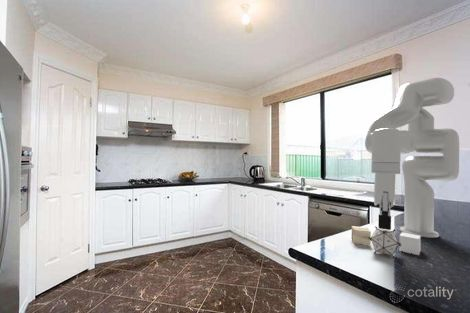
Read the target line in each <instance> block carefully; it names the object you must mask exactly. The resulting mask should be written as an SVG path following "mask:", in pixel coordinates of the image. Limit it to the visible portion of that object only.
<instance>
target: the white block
mask: <svg viewBox="0 0 470 313" xmlns="http://www.w3.org/2000/svg"><path fill="white" fill-rule="evenodd" d="M421 238H422V237H421V236H419V235H414V234H408V233H404V232H402V231H401V233H400V234H399V241H398V243H401V245H402V246H398V248H399V252H402V251H403V253H408V254H411V253H412V255H416V256H420V254H421V246H422V243H421Z"/></svg>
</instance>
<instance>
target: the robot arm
mask: <svg viewBox="0 0 470 313" xmlns="http://www.w3.org/2000/svg"><path fill="white" fill-rule="evenodd" d="M454 95H455V88H454V86H453V83H452V82H451V81H450V80H447V79H446V78H443V77H431V78H426V79H421V80H416V81H412V82H407V83H405V84H403V85H401V86H400V87H399V89H398V90H397V92H396V95H395V98H394V100H393V103H392V105H391V108H390V110H388V111H387V112H384V113H383V114H382V115H380V117H378V118H377V119H375V120H374V121H373V122H372V123H371V125H370V127H369V128H368V131H367V134H366V137H365V141H364V147H365V149H366V151H367V152H368V153H369V154H370V153H371V169H370V170H371V172H370V174H371V173H372V174H374V185H373V186H374V189H373V191H374V194H373V199H374V200H373V204H374V206H375V207H377V205H379V207H378V208H379V214H378V223H377V224H378V227H377V228H378V229H383V230H389V231H392V215H391V208H392V207H394V202H395V196H396V195H395V194H396V175H401V169H402V174H403V180H404V181H403V182H404V203H403V204H404V207H403V208H404V215H403V216H404V218H403V219H404V220H403V224H404V225H403V226H399V231H400V232H401V233H402V232H403V233H408V234H414V235H419V236H421V238H429V239H431V238H432V239H433V238H434V239H435V238H439V237H440V234H439V232H437V231H435V230H434V229H435V228H434V227H435V226H434V225H435V223H434V221H435V218H434V216H435V214H434V213H435V191H434V189H433V187H432V186H431V185H430V184H429V182H428V181H443V182H444V181H445V182H448V181H449V182H450V181H455V180H457V178H458V177H459V175H460V174H459V173H460V137H459V133H458V132H457V130H455V129H453V128H435V117H434V116H433V115H432V113H431V112H430V111H428V110H427V109H425V108H424V107H432V106H440V105H447V104H449V103H450V102H452V101H453V99H454ZM406 125H408V126H407V130H405V129H404V130H400V129H398V128H401V127H404V126H406ZM410 153H414V154H415V153H416V154H417V153H418V154H442V155H413V156H407V157H406V158H404V159H403V161H402V163H401V158H402V156H401V155H404V154H410Z"/></svg>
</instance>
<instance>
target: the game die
mask: <svg viewBox="0 0 470 313" xmlns="http://www.w3.org/2000/svg"><path fill="white" fill-rule="evenodd" d="M374 227H375V231H374V232H373V233H372V234H371V238H370V237H368V238H369V239H370V240H371V243H372V246H373V249H374V252H373V255H375V254H376V253H380V254H384V255H389V256H392V258H393V259H395V258H396V256H395V253H396V252H397V249H398V248H399V246H402V245H401V243H399V241H398V239H397V236H396V234H395V231H396V229H393V230H386V229H380V228H378V227H377V226H374Z"/></svg>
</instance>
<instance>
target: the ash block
mask: <svg viewBox="0 0 470 313" xmlns="http://www.w3.org/2000/svg"><path fill="white" fill-rule="evenodd" d="M371 233H372V231H371V230H370V228H368V227H364V226H362V227H361V226H356V225H355V226H353V225H351V239H352V240H351V241H352V243H353V244H354V245H357V244H364V245H363V246H366V245H370V246H371V243H372V241H371V240H370V239H369V238H368V237H370V238H371V237H372V234H371Z"/></svg>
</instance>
